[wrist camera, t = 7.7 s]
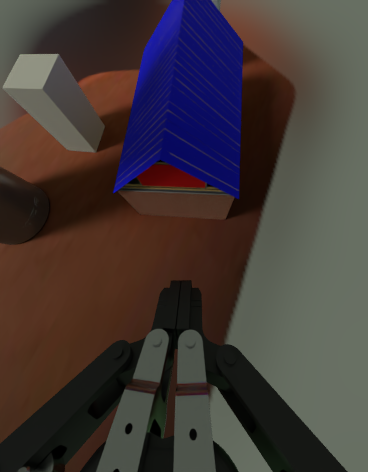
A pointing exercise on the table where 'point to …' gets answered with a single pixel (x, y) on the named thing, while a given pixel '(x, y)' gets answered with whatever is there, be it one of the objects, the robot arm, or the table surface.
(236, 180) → the house
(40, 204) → the robot arm
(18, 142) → the table surface
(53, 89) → the cream block
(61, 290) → the table surface
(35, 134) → the table surface
